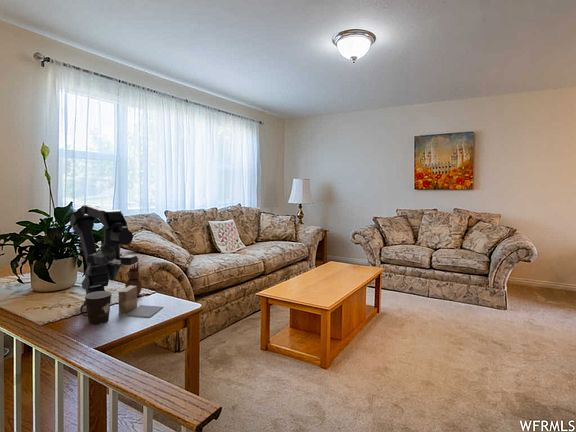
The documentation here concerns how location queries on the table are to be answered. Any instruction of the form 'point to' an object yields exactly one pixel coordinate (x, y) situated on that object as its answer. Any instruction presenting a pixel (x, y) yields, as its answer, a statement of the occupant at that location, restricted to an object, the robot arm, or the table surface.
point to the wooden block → (127, 299)
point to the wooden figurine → (134, 279)
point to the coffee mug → (97, 307)
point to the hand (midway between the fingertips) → (112, 280)
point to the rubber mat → (144, 311)
